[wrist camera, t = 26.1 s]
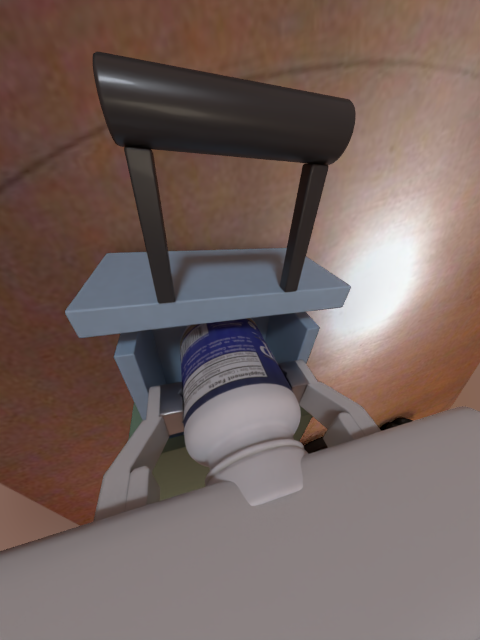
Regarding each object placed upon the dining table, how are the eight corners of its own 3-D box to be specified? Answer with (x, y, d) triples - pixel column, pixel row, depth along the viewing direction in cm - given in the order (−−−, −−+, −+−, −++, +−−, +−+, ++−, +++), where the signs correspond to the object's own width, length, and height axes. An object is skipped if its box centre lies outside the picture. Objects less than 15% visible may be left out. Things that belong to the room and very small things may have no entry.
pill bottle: (260, 352, 15) (330, 498, 9) (194, 374, 15) (213, 548, 8) (251, 294, 12) (355, 460, 5) (165, 320, 12) (157, 541, 5)
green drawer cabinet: (139, 363, 17) (124, 463, 12) (273, 343, 20) (314, 413, 15) (165, 435, 25) (164, 515, 20) (258, 412, 29) (281, 475, 23)
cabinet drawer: (54, 100, 8) (-145, -12, 3) (317, 135, 10) (444, 108, 6) (152, 389, 18) (146, 467, 14) (267, 367, 21) (296, 426, 16)
